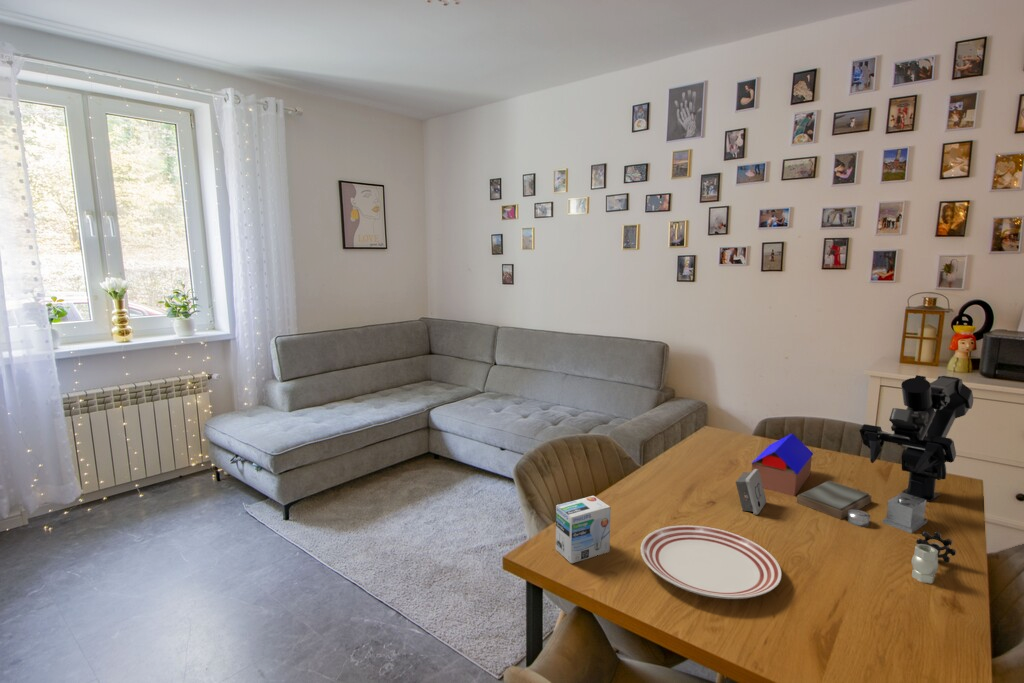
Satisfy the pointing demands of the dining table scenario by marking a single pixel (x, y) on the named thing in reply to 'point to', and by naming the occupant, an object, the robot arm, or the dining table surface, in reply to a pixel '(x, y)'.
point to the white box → (582, 528)
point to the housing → (906, 512)
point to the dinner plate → (710, 562)
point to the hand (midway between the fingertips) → (893, 466)
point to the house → (784, 465)
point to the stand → (834, 499)
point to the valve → (929, 557)
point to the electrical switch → (751, 491)
